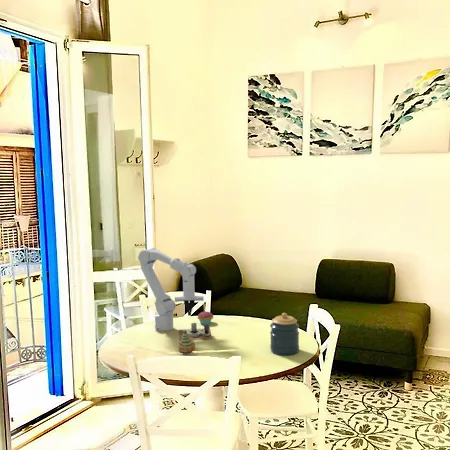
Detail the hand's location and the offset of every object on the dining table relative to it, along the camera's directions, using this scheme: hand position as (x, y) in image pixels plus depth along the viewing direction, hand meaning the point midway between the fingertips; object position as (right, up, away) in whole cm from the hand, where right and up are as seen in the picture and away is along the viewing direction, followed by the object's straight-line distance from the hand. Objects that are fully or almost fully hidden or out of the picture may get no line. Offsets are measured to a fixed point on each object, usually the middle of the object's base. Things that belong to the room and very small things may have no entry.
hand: (189, 315), depth 245 cm
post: (+3, -10, -3) cm, 11 cm away
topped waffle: (+1, -12, -24) cm, 27 cm away
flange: (+4, -9, -4) cm, 11 cm away
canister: (+45, -12, -26) cm, 53 cm away
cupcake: (+8, -9, +17) cm, 20 cm away
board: (+3, -10, -3) cm, 11 cm away
